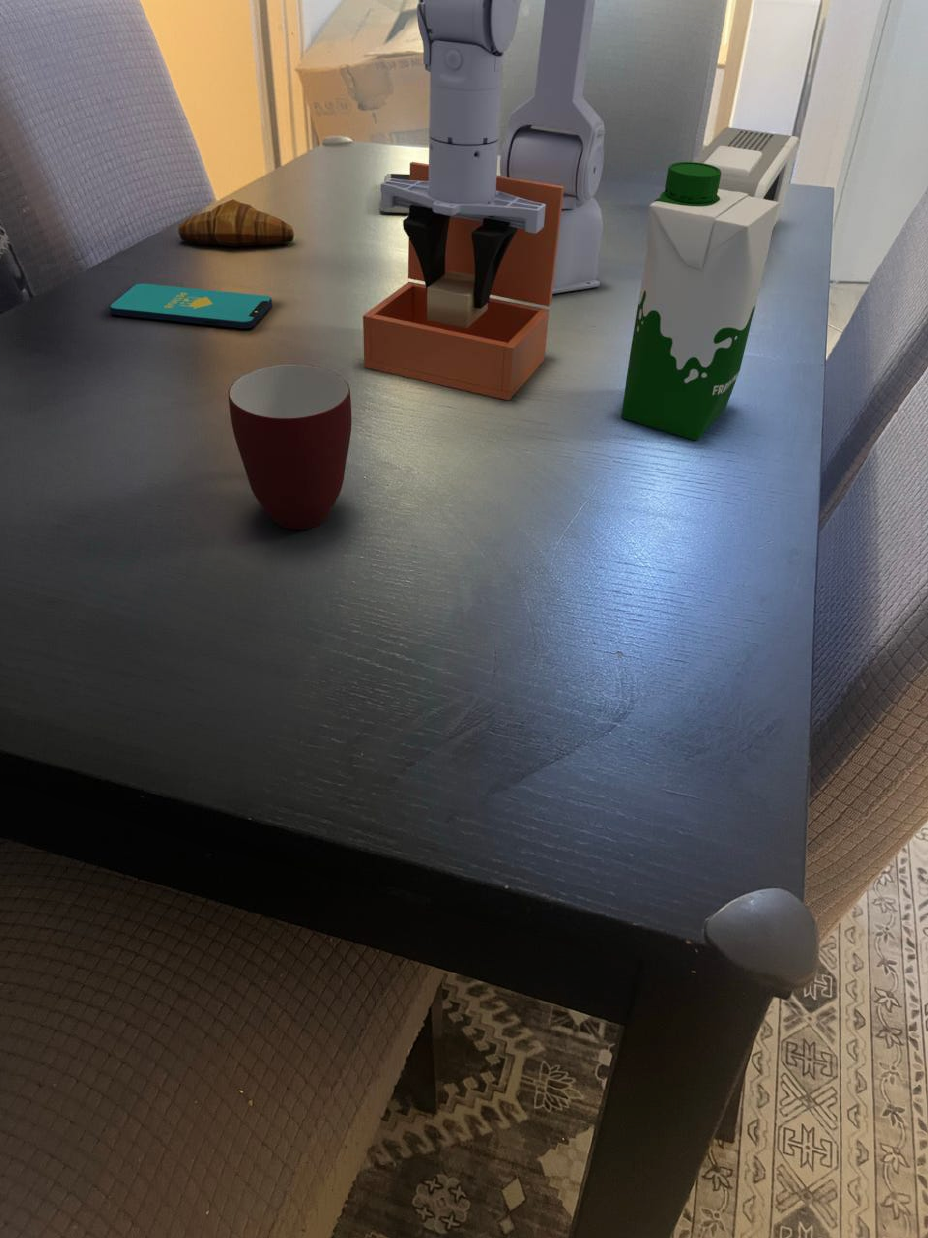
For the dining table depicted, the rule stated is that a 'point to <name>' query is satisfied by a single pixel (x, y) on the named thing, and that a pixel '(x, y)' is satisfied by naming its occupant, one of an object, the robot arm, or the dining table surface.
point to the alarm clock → (753, 162)
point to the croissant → (235, 227)
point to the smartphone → (192, 305)
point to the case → (456, 344)
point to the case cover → (526, 256)
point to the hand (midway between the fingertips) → (458, 299)
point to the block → (453, 300)
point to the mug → (293, 439)
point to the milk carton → (695, 300)
